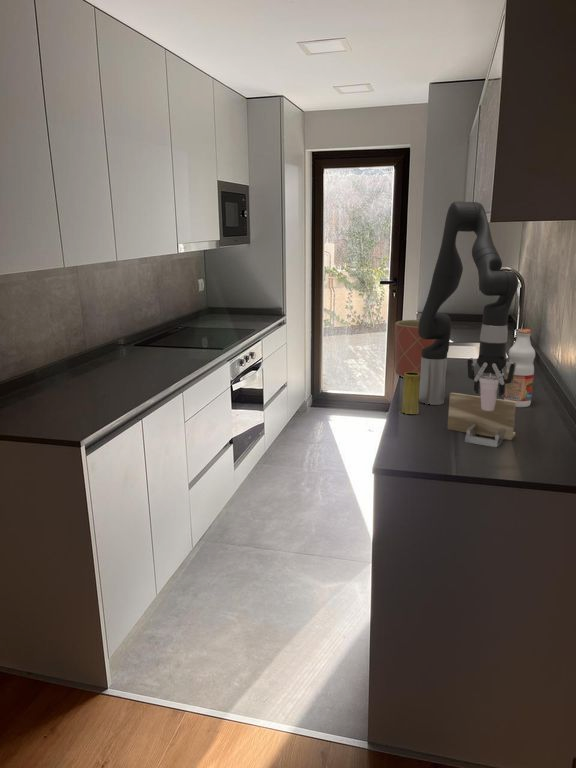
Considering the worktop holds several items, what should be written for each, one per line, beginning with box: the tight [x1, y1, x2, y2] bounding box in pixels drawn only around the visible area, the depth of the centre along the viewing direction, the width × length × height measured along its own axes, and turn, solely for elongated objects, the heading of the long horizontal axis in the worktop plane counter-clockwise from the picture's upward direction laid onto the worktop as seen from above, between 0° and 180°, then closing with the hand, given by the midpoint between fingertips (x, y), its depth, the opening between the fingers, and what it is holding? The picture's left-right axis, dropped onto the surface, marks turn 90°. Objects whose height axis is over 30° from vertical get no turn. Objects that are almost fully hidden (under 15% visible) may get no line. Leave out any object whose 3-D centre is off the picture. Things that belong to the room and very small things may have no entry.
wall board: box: [446, 392, 517, 441], centre depth 187 cm, size 5×20×12 cm, turn 58°
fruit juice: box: [503, 328, 536, 408], centre depth 217 cm, size 9×9×28 cm
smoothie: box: [479, 373, 500, 411], centre depth 178 cm, size 6×6×14 cm
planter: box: [394, 319, 436, 377], centre depth 262 cm, size 23×23×24 cm
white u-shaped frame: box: [464, 423, 505, 448], centre depth 181 cm, size 9×10×4 cm
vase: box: [400, 372, 420, 415], centre depth 208 cm, size 6×6×14 cm
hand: (488, 394), depth 178 cm, fingers closed on smoothie, 6 cm apart
